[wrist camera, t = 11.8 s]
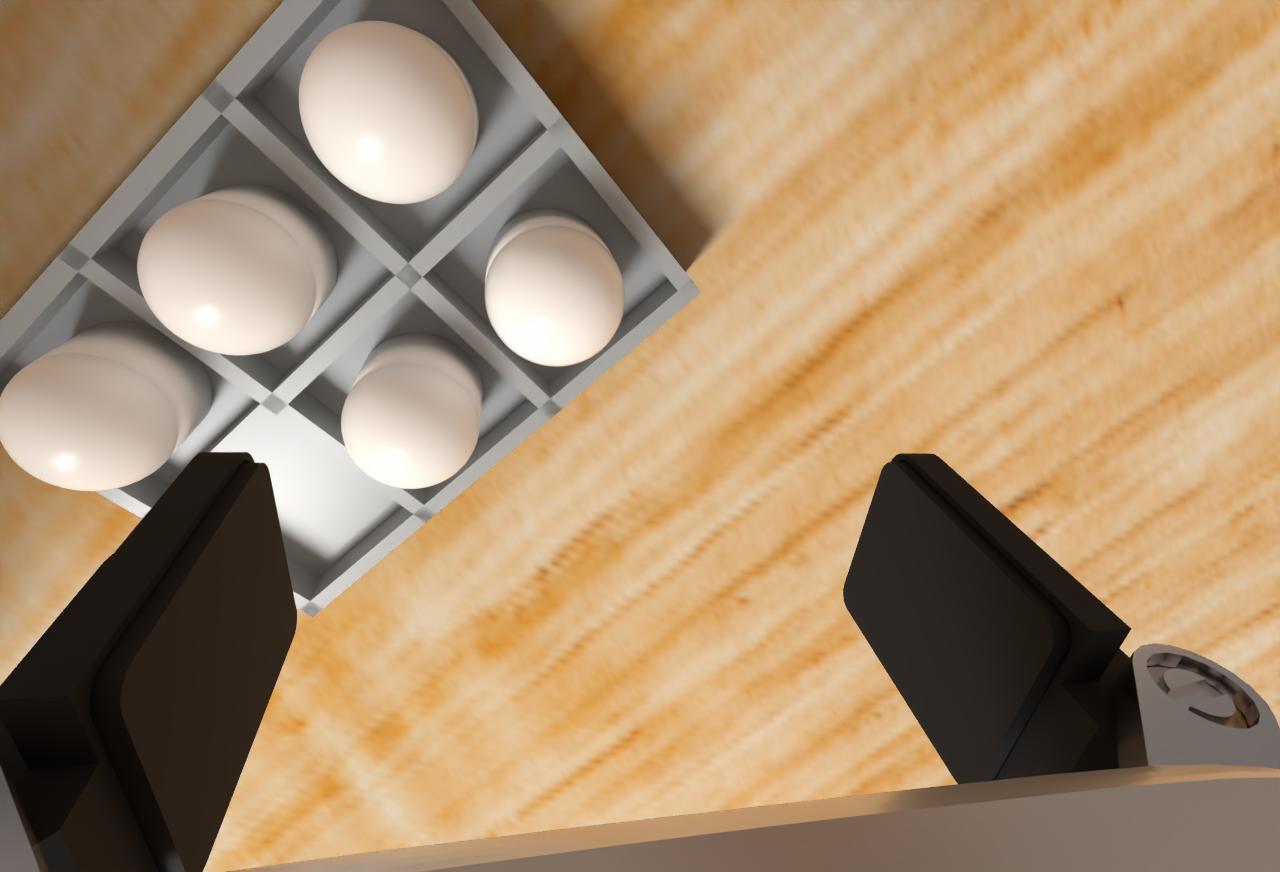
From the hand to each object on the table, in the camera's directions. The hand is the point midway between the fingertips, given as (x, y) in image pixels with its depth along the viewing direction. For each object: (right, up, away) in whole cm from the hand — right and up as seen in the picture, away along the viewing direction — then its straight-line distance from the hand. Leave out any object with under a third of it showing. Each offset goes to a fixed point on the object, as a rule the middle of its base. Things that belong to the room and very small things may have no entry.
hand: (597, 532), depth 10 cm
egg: (-3, +7, +13) cm, 15 cm away
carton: (-10, +6, +13) cm, 18 cm away
